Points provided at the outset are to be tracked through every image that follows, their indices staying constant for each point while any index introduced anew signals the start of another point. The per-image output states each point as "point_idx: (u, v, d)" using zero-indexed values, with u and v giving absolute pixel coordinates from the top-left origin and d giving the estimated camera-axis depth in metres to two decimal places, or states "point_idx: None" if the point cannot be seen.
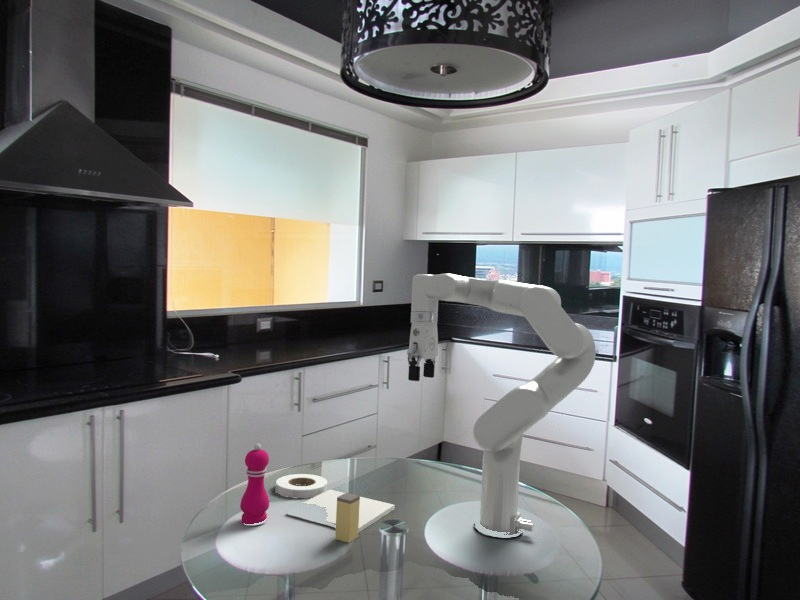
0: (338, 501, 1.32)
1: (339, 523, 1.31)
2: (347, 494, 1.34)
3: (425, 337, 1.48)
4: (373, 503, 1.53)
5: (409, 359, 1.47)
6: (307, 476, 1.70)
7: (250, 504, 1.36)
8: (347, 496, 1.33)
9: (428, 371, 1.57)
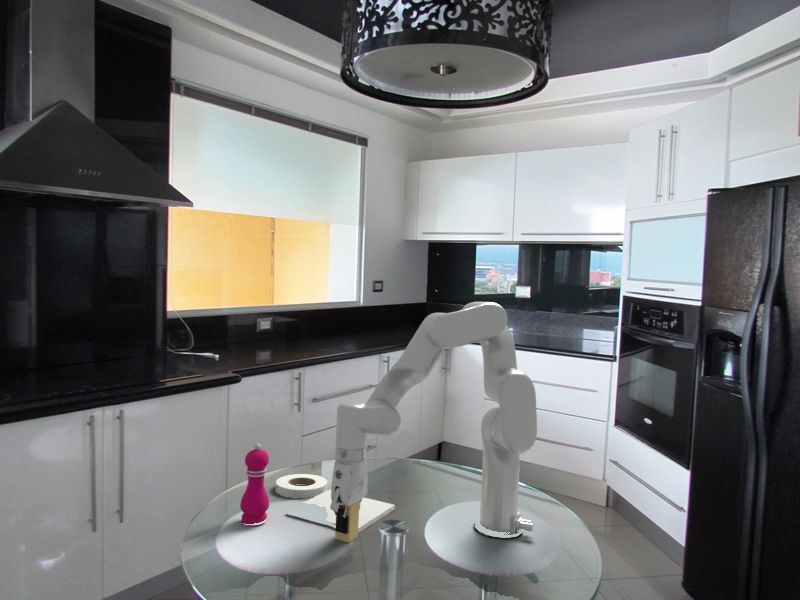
0: None
1: None
2: None
3: (348, 481, 1.28)
4: (373, 503, 1.53)
5: (335, 510, 1.28)
6: (307, 476, 1.70)
7: (250, 504, 1.36)
8: None
9: None
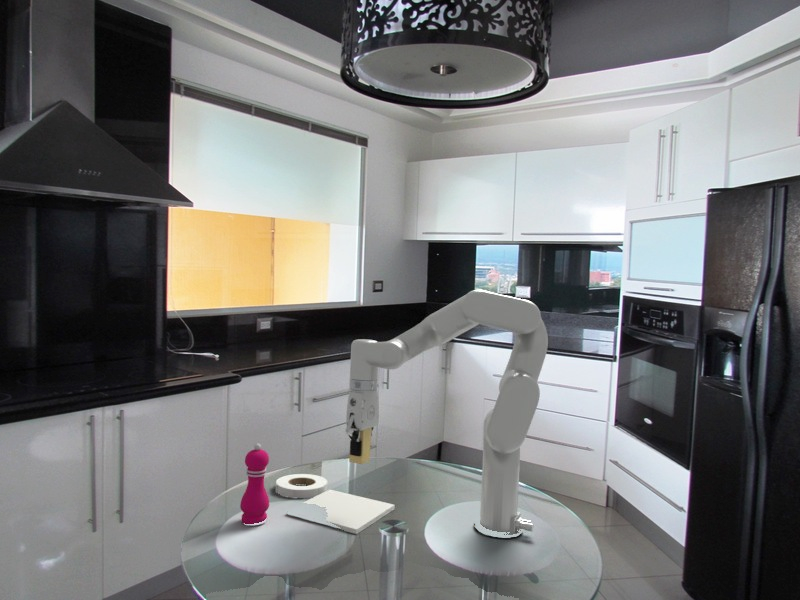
0: None
1: None
2: None
3: (362, 408, 1.42)
4: (373, 503, 1.53)
5: (350, 434, 1.42)
6: (307, 476, 1.70)
7: (250, 504, 1.36)
8: None
9: None
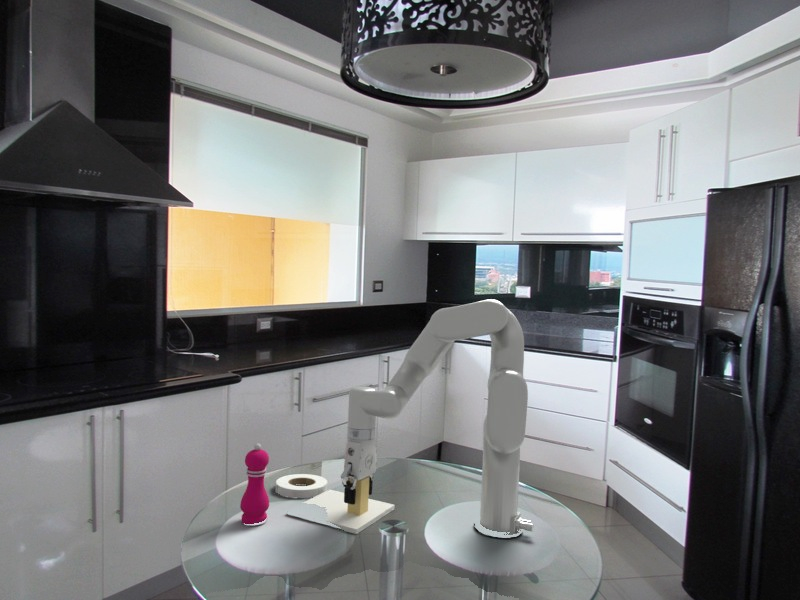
0: None
1: None
2: None
3: (359, 457, 1.42)
4: (373, 503, 1.53)
5: (343, 483, 1.40)
6: (307, 476, 1.70)
7: (250, 504, 1.36)
8: None
9: None
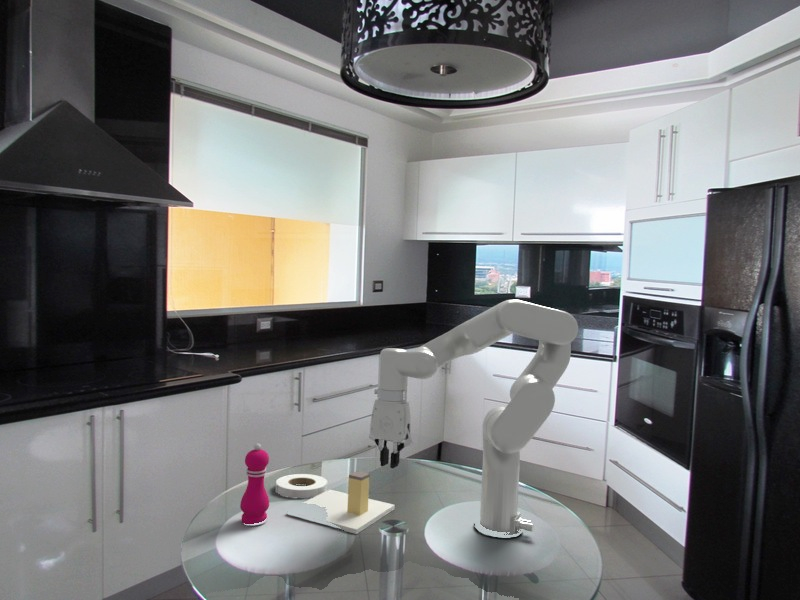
0: (350, 478, 1.45)
1: (350, 498, 1.45)
2: (358, 472, 1.48)
3: (372, 414, 1.42)
4: (373, 503, 1.53)
5: None
6: (307, 476, 1.70)
7: (250, 504, 1.36)
8: (358, 473, 1.47)
9: None
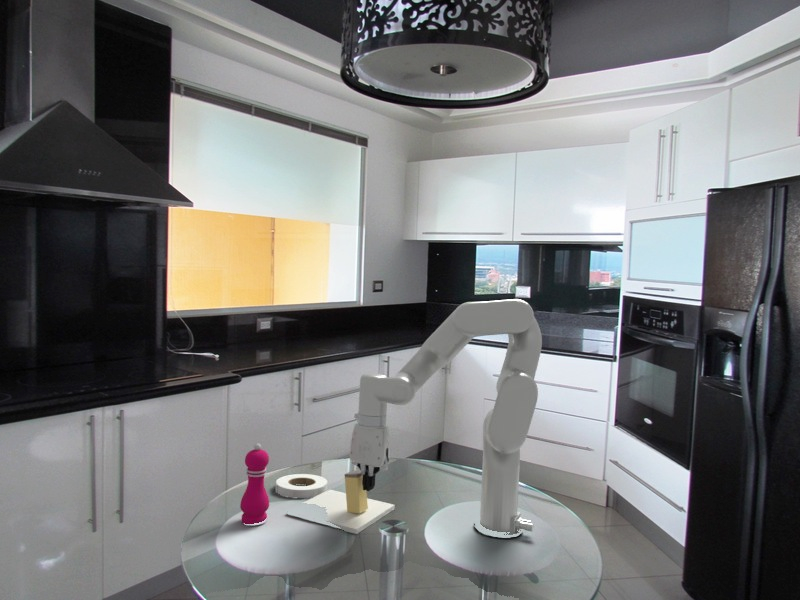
0: (346, 477, 1.46)
1: (349, 497, 1.45)
2: (353, 471, 1.49)
3: (352, 439, 1.45)
4: (373, 503, 1.53)
5: None
6: (307, 476, 1.70)
7: (250, 504, 1.36)
8: (354, 472, 1.48)
9: None
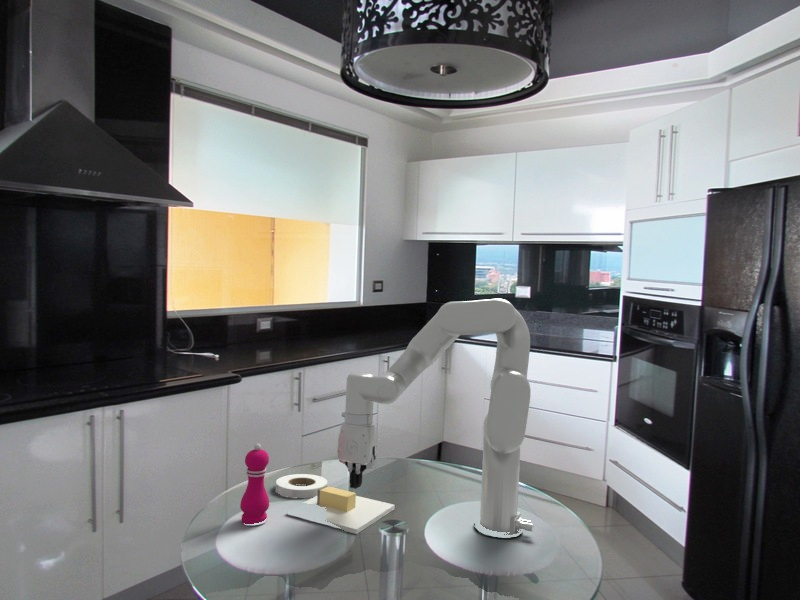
0: (319, 503, 1.50)
1: (335, 505, 1.47)
2: None
3: (339, 437, 1.47)
4: (373, 503, 1.53)
5: None
6: (307, 476, 1.70)
7: (250, 504, 1.36)
8: None
9: None
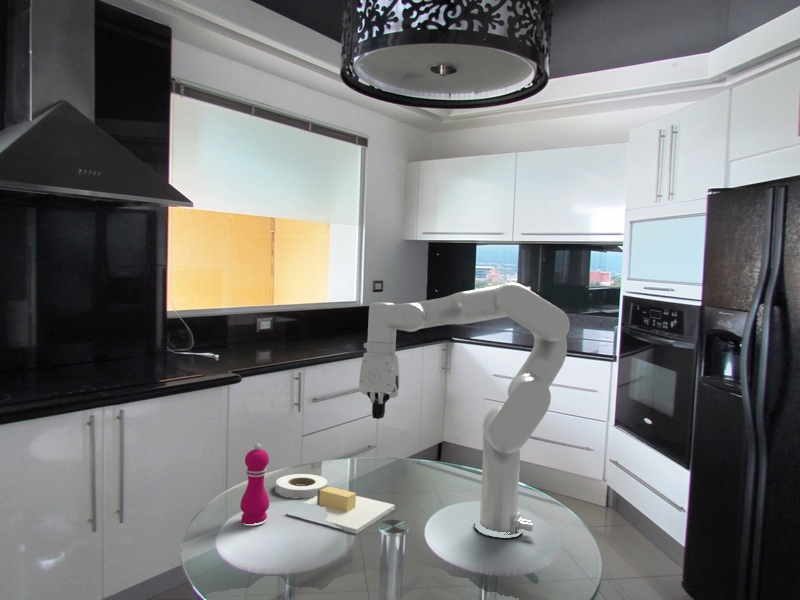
0: (319, 503, 1.50)
1: (335, 505, 1.47)
2: None
3: (361, 367, 1.44)
4: (373, 503, 1.53)
5: None
6: (307, 476, 1.70)
7: (250, 504, 1.36)
8: None
9: None
